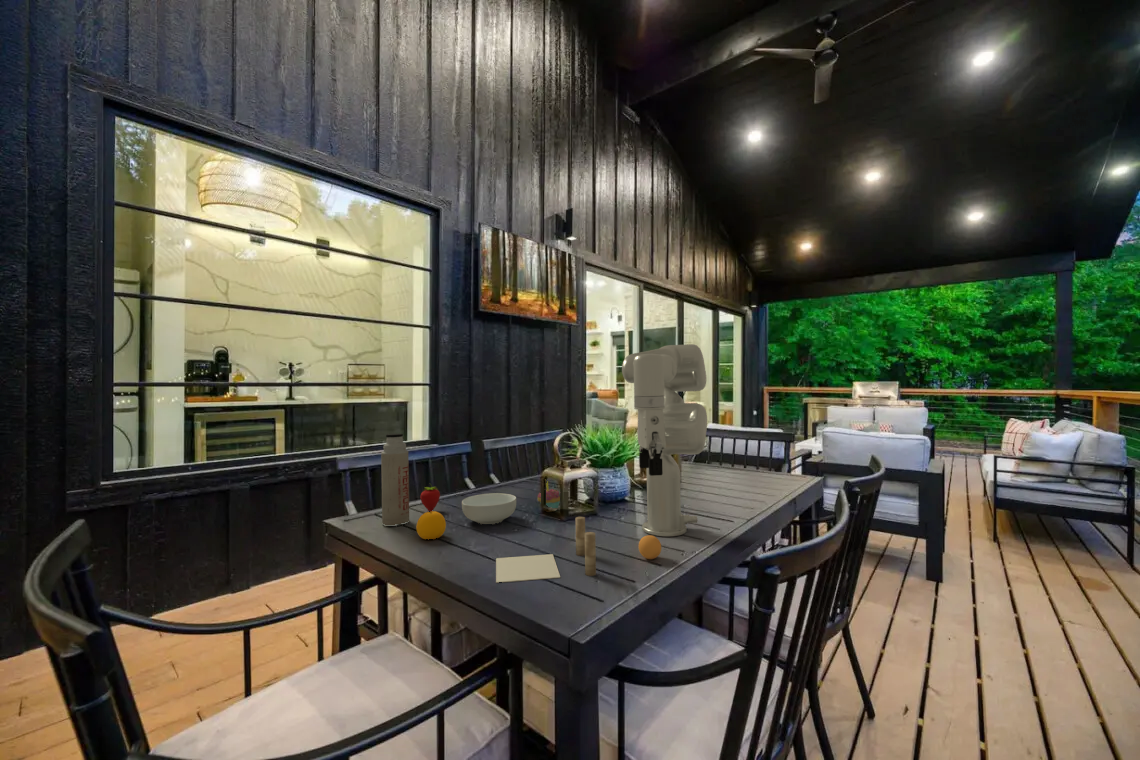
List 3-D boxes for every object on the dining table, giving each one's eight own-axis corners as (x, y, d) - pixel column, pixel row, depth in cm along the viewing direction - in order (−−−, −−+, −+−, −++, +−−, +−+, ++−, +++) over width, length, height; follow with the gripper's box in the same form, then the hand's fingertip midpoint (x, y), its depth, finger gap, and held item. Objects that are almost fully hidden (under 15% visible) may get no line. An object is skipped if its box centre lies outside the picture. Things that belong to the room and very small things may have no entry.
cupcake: (554, 515, 153) (553, 478, 153) (532, 512, 157) (531, 476, 157) (567, 508, 160) (566, 473, 160) (546, 506, 164) (545, 471, 165)
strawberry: (416, 514, 157) (415, 484, 157) (429, 508, 164) (429, 479, 164) (431, 515, 155) (431, 485, 155) (444, 509, 162) (443, 480, 162)
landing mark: (552, 554, 118) (552, 554, 118) (560, 577, 104) (560, 576, 104) (496, 559, 115) (496, 558, 115) (496, 582, 102) (496, 582, 102)
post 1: (584, 552, 119) (584, 516, 119) (586, 555, 117) (585, 519, 117) (575, 552, 119) (574, 517, 119) (576, 556, 116) (576, 519, 116)
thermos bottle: (414, 521, 148) (413, 432, 148) (393, 528, 142) (391, 435, 142) (398, 518, 153) (397, 431, 153) (376, 524, 146) (375, 434, 146)
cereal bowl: (507, 511, 159) (507, 490, 159) (524, 524, 144) (523, 501, 144) (456, 518, 151) (456, 496, 152) (469, 532, 136) (468, 508, 137)
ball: (657, 553, 117) (656, 531, 117) (664, 561, 112) (664, 538, 112) (635, 555, 116) (635, 532, 117) (642, 563, 111) (642, 540, 111)
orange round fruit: (422, 544, 127) (422, 517, 127) (412, 537, 133) (412, 511, 133) (450, 538, 132) (450, 511, 132) (439, 531, 138) (439, 506, 138)
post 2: (594, 571, 107) (594, 531, 107) (597, 575, 105) (596, 535, 105) (584, 572, 107) (583, 532, 107) (586, 576, 104) (585, 535, 104)
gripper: (674, 404, 110) (675, 477, 110) (654, 401, 127) (656, 464, 127) (642, 405, 109) (644, 479, 109) (627, 402, 126) (628, 465, 126)
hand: (650, 471), depth 118 cm, fingers open, 9 cm apart
